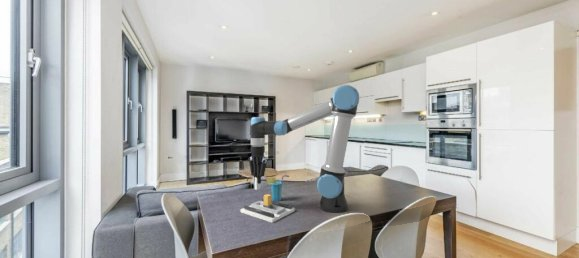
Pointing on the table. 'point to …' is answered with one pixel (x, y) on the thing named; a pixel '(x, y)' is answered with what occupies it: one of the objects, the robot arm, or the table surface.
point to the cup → (275, 188)
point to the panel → (268, 211)
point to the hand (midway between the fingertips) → (257, 189)
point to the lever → (268, 201)
